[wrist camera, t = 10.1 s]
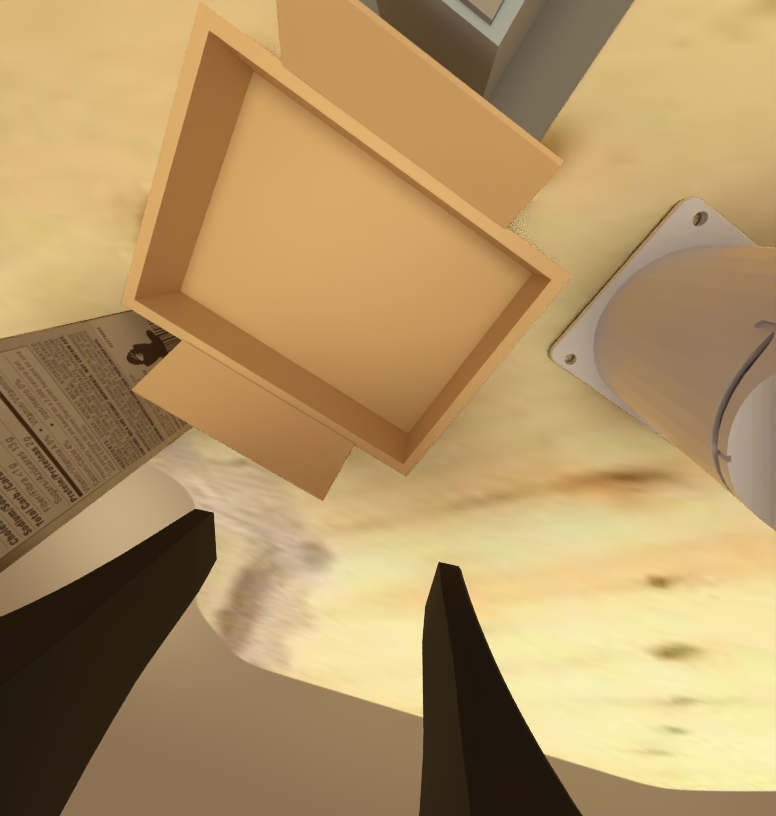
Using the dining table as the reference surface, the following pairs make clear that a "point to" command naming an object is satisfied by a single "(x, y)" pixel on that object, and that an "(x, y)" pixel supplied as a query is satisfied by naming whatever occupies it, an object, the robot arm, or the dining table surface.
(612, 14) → the mat
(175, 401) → the carton
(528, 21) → the block
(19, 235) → the dining table surface
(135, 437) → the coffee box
